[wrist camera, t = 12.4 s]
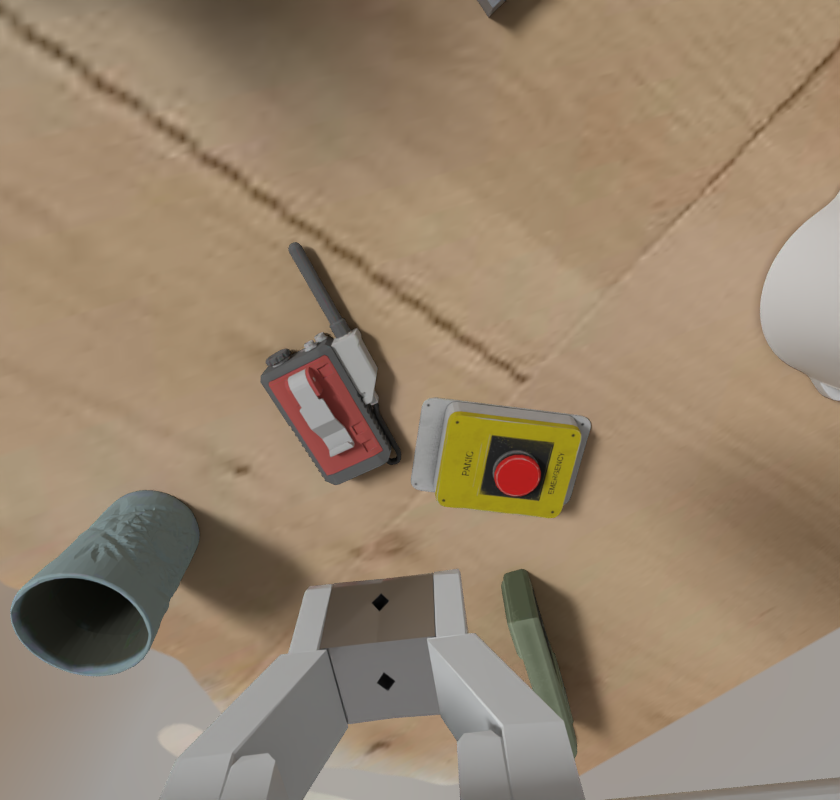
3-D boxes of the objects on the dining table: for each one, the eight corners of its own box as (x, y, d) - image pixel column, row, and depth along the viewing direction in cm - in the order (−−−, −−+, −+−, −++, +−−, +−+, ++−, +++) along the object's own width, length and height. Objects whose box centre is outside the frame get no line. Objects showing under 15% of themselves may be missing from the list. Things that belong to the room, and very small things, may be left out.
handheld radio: (530, 565, 53) (577, 730, 62) (497, 572, 53) (549, 735, 62) (542, 616, 46) (593, 791, 56) (505, 624, 47) (562, 796, 56)
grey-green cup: (215, 497, 49) (157, 590, 38) (201, 582, 52) (145, 689, 41) (101, 473, 48) (7, 561, 37) (96, 561, 51) (9, 665, 40)
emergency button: (579, 531, 46) (408, 512, 45) (566, 503, 50) (409, 485, 49) (608, 436, 43) (424, 414, 42) (591, 414, 47) (423, 393, 46)
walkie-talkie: (423, 443, 47) (307, 234, 41) (424, 468, 43) (296, 240, 36) (337, 482, 49) (211, 286, 42) (330, 509, 45) (190, 297, 38)
